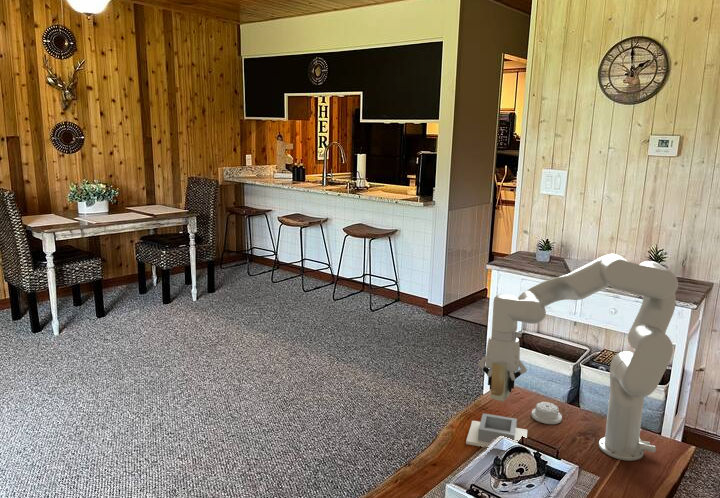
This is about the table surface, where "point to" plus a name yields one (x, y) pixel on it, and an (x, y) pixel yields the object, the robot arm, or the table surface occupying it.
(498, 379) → the skincare box
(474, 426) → the square socket base
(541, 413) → the mechanical component
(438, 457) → the table surface
